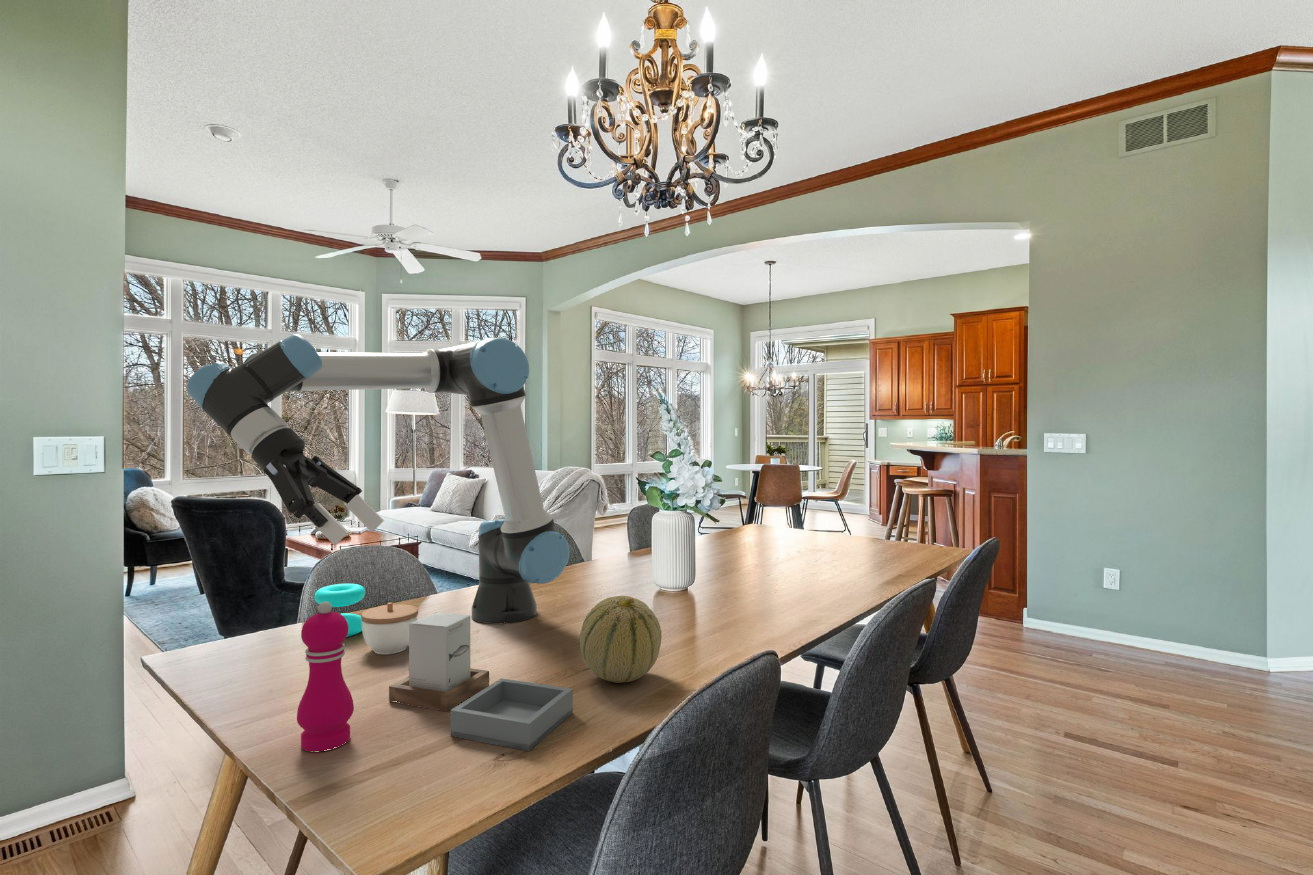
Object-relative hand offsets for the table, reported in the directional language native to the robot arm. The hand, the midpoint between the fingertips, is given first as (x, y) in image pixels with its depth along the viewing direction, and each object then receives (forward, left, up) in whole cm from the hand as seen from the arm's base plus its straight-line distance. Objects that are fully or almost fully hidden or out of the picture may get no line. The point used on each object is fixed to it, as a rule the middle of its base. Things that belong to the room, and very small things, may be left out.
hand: (361, 532), depth 110 cm
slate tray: (+1, +30, -27) cm, 40 cm away
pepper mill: (+15, +8, -27) cm, 32 cm away
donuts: (-25, -30, -28) cm, 48 cm away
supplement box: (-5, +12, -27) cm, 30 cm away
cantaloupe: (-21, +38, -27) cm, 51 cm away
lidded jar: (-20, -12, -28) cm, 36 cm away
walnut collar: (-5, +12, -27) cm, 30 cm away
